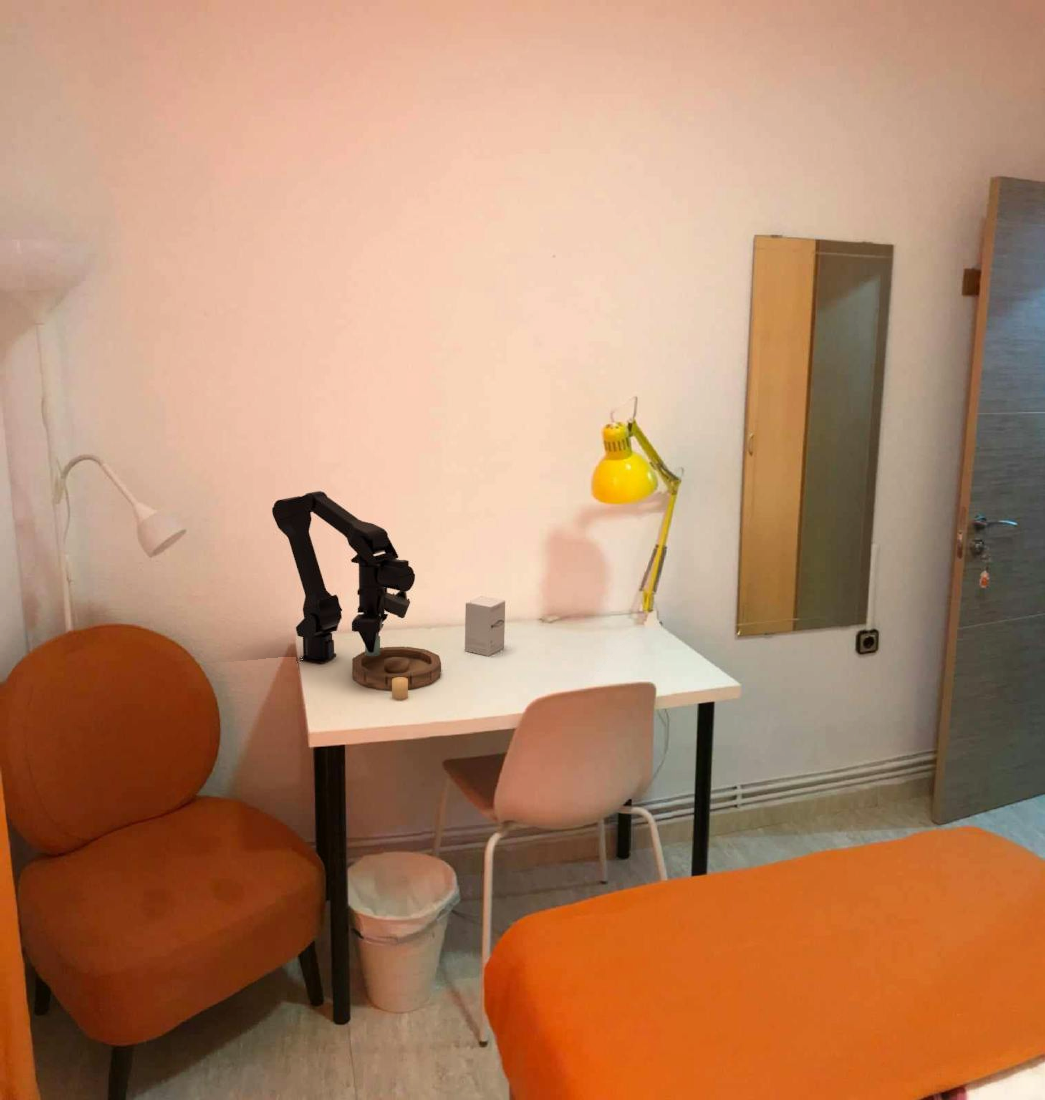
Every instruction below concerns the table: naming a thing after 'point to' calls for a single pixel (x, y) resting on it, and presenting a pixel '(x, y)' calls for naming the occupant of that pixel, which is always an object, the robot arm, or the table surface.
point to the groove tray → (396, 667)
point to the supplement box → (484, 625)
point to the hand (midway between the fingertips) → (372, 649)
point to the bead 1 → (376, 648)
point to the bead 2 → (399, 688)
